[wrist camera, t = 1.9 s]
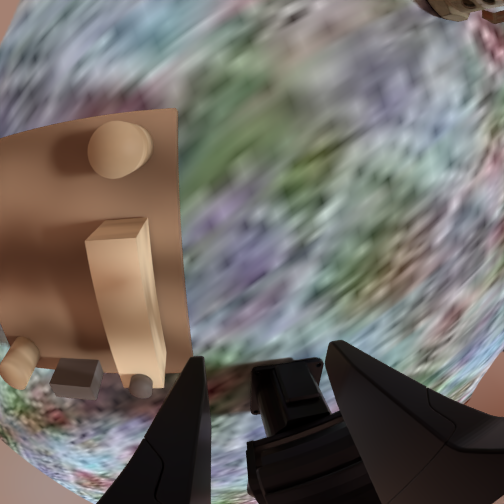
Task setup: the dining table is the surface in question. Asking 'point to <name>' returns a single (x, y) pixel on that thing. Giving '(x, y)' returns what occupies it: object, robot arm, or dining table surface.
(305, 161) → the dining table surface
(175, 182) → the stool seat
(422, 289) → the dining table surface
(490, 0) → the grenade model
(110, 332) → the folding leg
